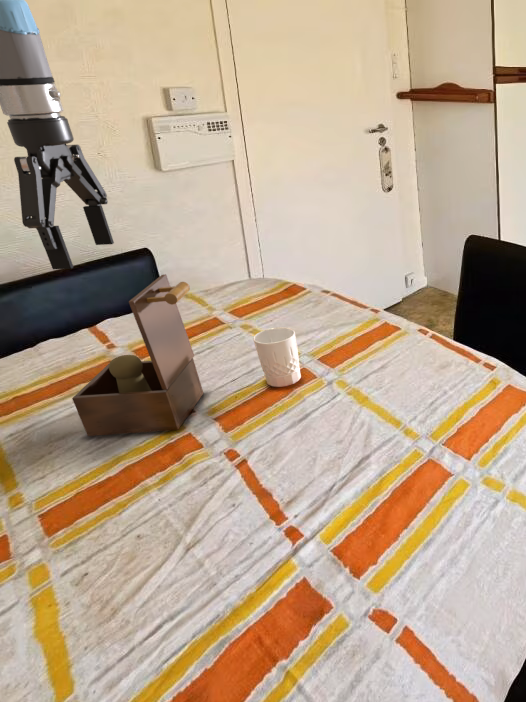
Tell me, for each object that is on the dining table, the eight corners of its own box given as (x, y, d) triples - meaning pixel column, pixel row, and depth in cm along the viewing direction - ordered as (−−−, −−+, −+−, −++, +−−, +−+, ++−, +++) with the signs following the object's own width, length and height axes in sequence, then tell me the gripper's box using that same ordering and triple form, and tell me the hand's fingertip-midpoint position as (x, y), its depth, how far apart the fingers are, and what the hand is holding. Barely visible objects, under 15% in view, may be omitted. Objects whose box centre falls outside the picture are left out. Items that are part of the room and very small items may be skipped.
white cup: (272, 370, 132) (262, 327, 127) (309, 370, 132) (300, 327, 127) (258, 388, 125) (246, 343, 120) (296, 388, 125) (286, 343, 120)
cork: (161, 412, 116) (143, 359, 111) (125, 422, 113) (104, 368, 108) (157, 399, 121) (139, 347, 115) (122, 408, 118) (102, 356, 112)
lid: (128, 301, 100) (165, 298, 100) (161, 274, 112) (194, 271, 112) (162, 390, 108) (196, 386, 108) (190, 356, 120) (221, 353, 120)
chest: (87, 436, 111) (71, 398, 107) (122, 398, 123) (109, 363, 119) (178, 429, 112) (165, 392, 108) (203, 393, 124) (193, 358, 120)
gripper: (11, 124, 82) (69, 279, 92) (102, 108, 104) (141, 234, 114) (-49, 126, 81) (15, 281, 92) (55, 109, 103) (98, 236, 113)
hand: (85, 255), depth 103 cm, fingers open, 13 cm apart
